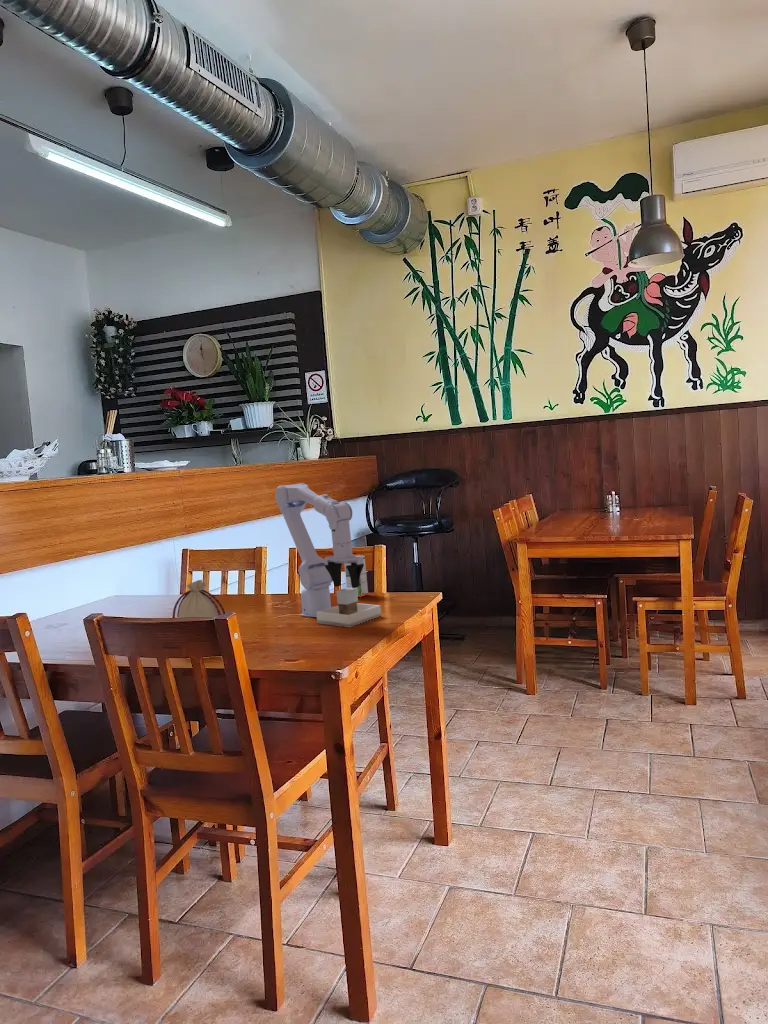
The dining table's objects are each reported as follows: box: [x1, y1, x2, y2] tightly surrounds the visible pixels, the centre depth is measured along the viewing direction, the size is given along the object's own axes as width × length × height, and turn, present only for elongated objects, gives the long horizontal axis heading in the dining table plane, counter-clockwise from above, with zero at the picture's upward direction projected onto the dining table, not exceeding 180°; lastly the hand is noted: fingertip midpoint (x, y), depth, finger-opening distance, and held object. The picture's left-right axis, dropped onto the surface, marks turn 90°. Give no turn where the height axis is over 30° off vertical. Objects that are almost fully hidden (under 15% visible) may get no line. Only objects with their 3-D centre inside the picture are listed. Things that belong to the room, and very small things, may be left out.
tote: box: [316, 603, 382, 628], centre depth 225 cm, size 14×14×4 cm
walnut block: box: [337, 601, 358, 615], centre depth 225 cm, size 4×4×4 cm
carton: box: [336, 587, 359, 605], centre depth 225 cm, size 4×5×4 cm
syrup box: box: [343, 555, 369, 596], centre depth 261 cm, size 6×6×14 cm
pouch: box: [172, 579, 226, 619], centre depth 208 cm, size 25×8×19 cm, turn 73°
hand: (346, 586), depth 224 cm, fingers open, 7 cm apart
